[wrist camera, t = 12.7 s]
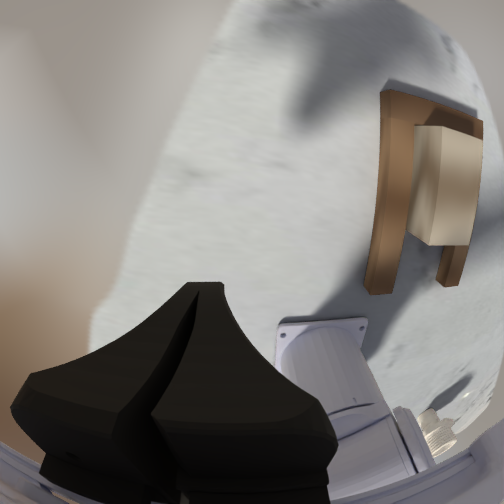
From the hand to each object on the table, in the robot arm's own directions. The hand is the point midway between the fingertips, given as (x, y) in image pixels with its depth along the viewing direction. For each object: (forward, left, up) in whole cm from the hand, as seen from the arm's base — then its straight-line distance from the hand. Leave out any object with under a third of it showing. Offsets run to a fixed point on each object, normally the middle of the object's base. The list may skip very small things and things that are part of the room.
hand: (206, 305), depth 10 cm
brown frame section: (+2, -16, -9) cm, 19 cm away
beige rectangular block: (+4, -16, -10) cm, 19 cm away
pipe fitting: (-31, -30, -10) cm, 44 cm away
